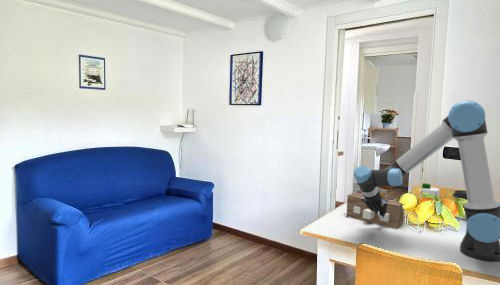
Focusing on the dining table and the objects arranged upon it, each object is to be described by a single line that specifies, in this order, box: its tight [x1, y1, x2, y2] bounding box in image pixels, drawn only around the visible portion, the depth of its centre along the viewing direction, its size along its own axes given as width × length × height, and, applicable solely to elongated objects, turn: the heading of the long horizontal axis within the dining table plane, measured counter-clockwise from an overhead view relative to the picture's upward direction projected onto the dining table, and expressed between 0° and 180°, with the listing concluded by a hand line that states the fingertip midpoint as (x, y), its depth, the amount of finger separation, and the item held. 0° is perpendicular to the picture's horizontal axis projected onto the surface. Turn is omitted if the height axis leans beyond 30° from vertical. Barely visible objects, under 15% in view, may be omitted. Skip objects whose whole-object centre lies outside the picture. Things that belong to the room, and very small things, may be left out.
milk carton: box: [419, 183, 441, 199], centre depth 191 cm, size 9×9×20 cm
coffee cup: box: [452, 189, 468, 221], centre depth 198 cm, size 11×11×15 cm
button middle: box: [363, 208, 375, 219], centre depth 185 cm, size 6×4×4 cm, turn 136°
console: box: [345, 187, 405, 230], centre depth 188 cm, size 8×28×18 cm, turn 46°
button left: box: [353, 205, 361, 214], centre depth 194 cm, size 6×4×4 cm, turn 136°
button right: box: [384, 212, 390, 222], centre depth 181 cm, size 6×4×4 cm, turn 136°
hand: (382, 218), depth 178 cm, fingers closed
